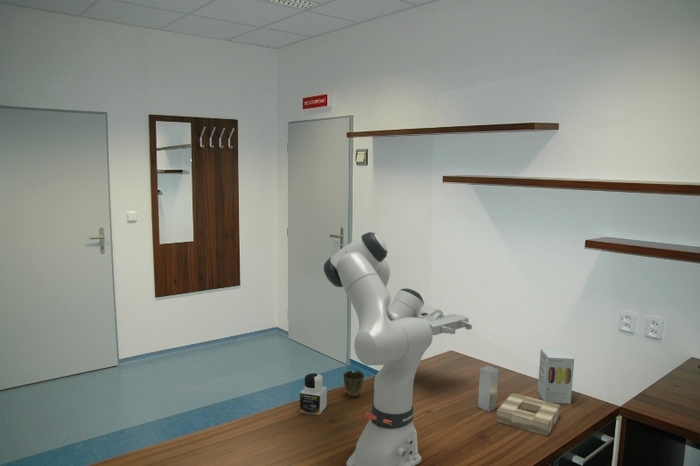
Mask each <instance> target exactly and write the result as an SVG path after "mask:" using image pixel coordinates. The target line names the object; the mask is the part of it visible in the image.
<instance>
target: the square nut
mask: <svg viewBox="0 0 700 466" xmlns="http://www.w3.org/2000/svg"><path fill="white" fill-rule="evenodd" d="M560 412H561V405H560V404H559V403H550V402H546V401H543V399H542V400H541V399H537V398H533V397H529V396H525V395H522V394H518V393H513V392H512V393H510V395H509V396H508V397H507V398H506V400H504V402H503V403H502V404H501V405H500V406H499V408H498V409H497V410H496V422H497V423H501V424H502V425H507V426H511V427H514V428H518V429H521V430H524V431H528V432H530V433H535V434H538V435H542V436H545V437H548V436H549V434H550V433H551V431H552V429H553V428H554V426H555V425H556V422H557V421H558V420H559V418H560V415H561V414H560Z"/></svg>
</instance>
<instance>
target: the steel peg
mask: <svg viewBox="0 0 700 466" xmlns="http://www.w3.org/2000/svg"><path fill="white" fill-rule="evenodd" d="M498 381H499V369H498V368H496V367H493V366H490V365H485V366H484V367H483V366H482V367H480V368H479V382H478V402H477V408H479V409H481V410H483V411H485V412H488V413H489V412H490V413H491V412H492V411H495V410H496V409H497V400H498V387H499V386H498V384H499V383H498Z"/></svg>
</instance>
